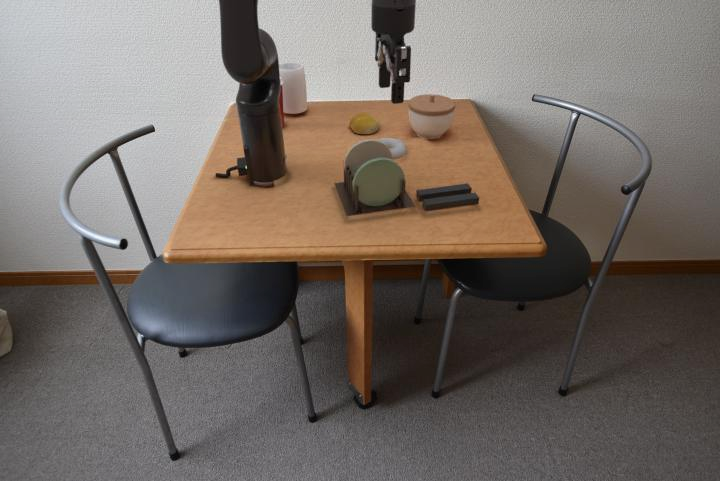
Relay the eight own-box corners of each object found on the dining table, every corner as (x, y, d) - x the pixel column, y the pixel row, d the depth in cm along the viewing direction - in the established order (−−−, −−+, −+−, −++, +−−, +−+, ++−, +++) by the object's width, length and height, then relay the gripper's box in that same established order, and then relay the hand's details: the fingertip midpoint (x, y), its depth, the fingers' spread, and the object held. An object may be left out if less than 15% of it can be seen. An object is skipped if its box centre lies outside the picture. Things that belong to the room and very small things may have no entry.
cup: (292, 120, 142) (288, 72, 133) (275, 113, 147) (269, 66, 138) (314, 112, 147) (310, 65, 138) (296, 105, 152) (292, 59, 143)
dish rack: (346, 222, 99) (345, 191, 95) (334, 188, 110) (332, 159, 106) (415, 212, 102) (417, 182, 97) (396, 180, 113) (397, 152, 108)
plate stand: (424, 216, 100) (426, 204, 99) (415, 201, 105) (416, 190, 103) (477, 209, 102) (479, 197, 101) (466, 194, 107) (467, 183, 106)
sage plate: (353, 209, 100) (352, 162, 94) (352, 207, 101) (351, 160, 94) (403, 202, 102) (406, 156, 95) (402, 200, 103) (404, 154, 96)
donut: (365, 163, 120) (404, 166, 118) (364, 151, 118) (404, 153, 116) (372, 146, 128) (409, 148, 126) (372, 134, 126) (409, 136, 124)
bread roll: (356, 137, 132) (356, 123, 130) (346, 125, 139) (345, 112, 136) (384, 132, 134) (384, 119, 132) (372, 121, 141) (372, 108, 139)
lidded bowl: (410, 144, 128) (412, 104, 121) (403, 125, 138) (405, 88, 132) (456, 142, 129) (461, 103, 122) (446, 124, 139) (450, 86, 132)
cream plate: (345, 188, 107) (343, 143, 101) (344, 186, 108) (342, 141, 101) (392, 182, 109) (393, 138, 102) (390, 180, 110) (392, 136, 103)
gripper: (362, -6, 85) (362, 84, 95) (383, 10, 74) (381, 110, 84) (402, -8, 87) (398, 81, 96) (429, 8, 76) (421, 106, 85)
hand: (390, 94), depth 90 cm, fingers open, 8 cm apart
